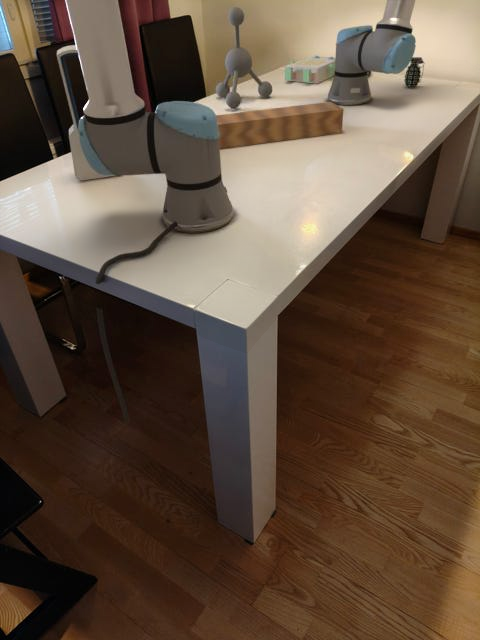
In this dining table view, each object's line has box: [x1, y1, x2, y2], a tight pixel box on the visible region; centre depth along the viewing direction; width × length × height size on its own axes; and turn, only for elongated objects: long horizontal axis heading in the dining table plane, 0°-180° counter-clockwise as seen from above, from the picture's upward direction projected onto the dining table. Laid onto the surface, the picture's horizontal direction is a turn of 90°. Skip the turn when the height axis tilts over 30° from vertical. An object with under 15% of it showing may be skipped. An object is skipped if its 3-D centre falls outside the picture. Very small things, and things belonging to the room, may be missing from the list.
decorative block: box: [284, 55, 335, 84], centre depth 206 cm, size 26×6×20 cm
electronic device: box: [56, 44, 111, 181], centre depth 122 cm, size 12×8×30 cm, turn 105°
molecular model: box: [215, 6, 273, 109], centre depth 175 cm, size 24×22×30 cm
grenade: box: [404, 56, 426, 89], centre depth 185 cm, size 7×6×10 cm
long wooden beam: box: [216, 101, 344, 150], centre depth 145 cm, size 60×10×7 cm, turn 104°
